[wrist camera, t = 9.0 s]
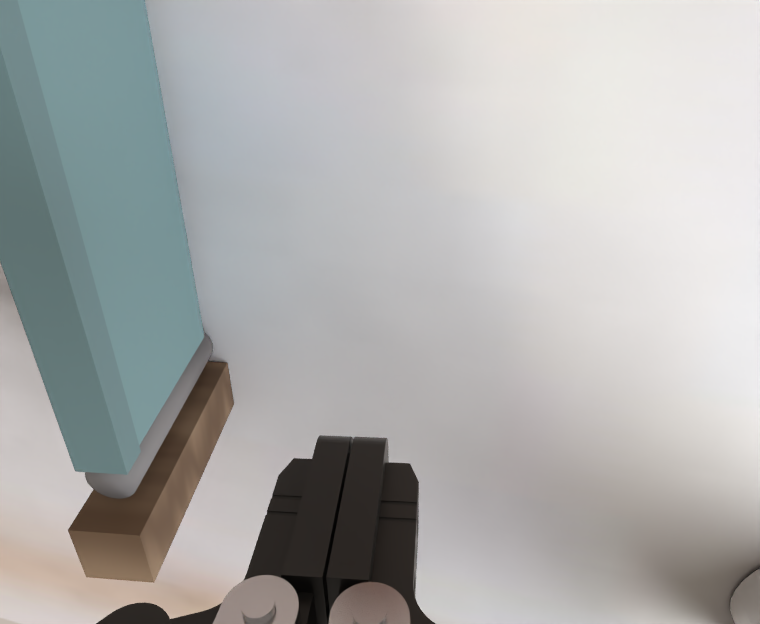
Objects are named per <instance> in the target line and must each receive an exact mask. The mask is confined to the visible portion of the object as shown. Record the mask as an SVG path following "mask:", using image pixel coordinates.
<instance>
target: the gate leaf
mask: <svg viewBox="0 0 760 624" xmlns="http://www.w3.org/2000/svg"><path fill="white" fill-rule="evenodd" d="M0 262H1V265H2V267H3V270H4V273H5V276H6V279H7V282H8V284H9V287H10V290H11V293H12V296H13V298H14V301H15V304H16V307H17V310H18V312H19V315H20V318H21V321H22V324H23V326H24V329H25V332H26V335H27V338H28V340H29V343H30V346H31V349H32V352H33V354H34V357H35V360H36V363H37V366H38V368H39V371H40V374H41V377H42V380H43V382H44V385H45V388H46V391H47V394H48V396H49V399H50V402H51V405H52V408H53V410H54V413H55V416H56V419H57V422H58V424H59V427H60V430H61V433H62V436H63V438H64V441H65V444H66V447H67V450H68V452H69V455H70V458H71V461H72V464H73V466H74V469H75V471H78V472H85V477H86V480H87V482H88V484H89V485H90V486H91V487H92V488H93V489H94V490H95V491H97V492H98V493H100V494H102V495H104V496H107V497H110V498H116V499H123V498H127V497H130V496H132V495H133V494H134V493H135V491H136V490H137V488H138V486H139V484H140V483H141V481H142V479H143V477H144V475H145V474H146V472H147V470H148V468H149V466H150V465H151V463H152V461H153V459H154V457H155V456H156V454H157V452H158V450H159V448H160V446H161V445H162V443H163V441H164V439H165V437H166V436H167V434H168V432H169V430H170V428H171V427H172V425H173V423H174V421H175V419H176V418H177V416H178V414H179V412H180V410H181V409H182V407H183V405H184V403H185V401H186V400H187V398H188V396H189V394H190V392H191V391H192V389H193V387H194V385H195V383H196V382H197V380H198V378H199V376H200V374H201V373H202V371H203V369H204V367H205V365H206V364H207V362H208V360H209V358H210V356H211V355H212V352H213V343H212V341H211V339H210V338H209V337H208V336H207V335H206V334H205V333H204V332H203V326H202V320H201V315H200V309H199V304H198V298H197V292H196V287H195V281H194V275H193V270H192V264H191V259H190V253H189V247H188V242H187V236H186V230H185V225H184V219H183V213H182V208H181V202H180V197H179V191H178V185H177V180H176V174H175V168H174V163H173V157H172V152H171V146H170V140H169V135H168V129H167V123H166V118H165V112H164V107H163V101H162V95H161V90H160V84H159V78H158V73H157V67H156V62H155V56H154V50H153V45H152V39H151V33H150V28H149V22H148V17H147V11H146V5H145V0H0Z"/></svg>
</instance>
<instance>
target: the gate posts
mask: <svg viewBox="0 0 760 624" xmlns="http://www.w3.org/2000/svg"><path fill="white" fill-rule="evenodd" d="M233 405H234V401H233V395H232V389H231V383H230V376H229V370H228V364H227V363H223V362H207V364H206V365H205V367H204V369H203V371H202V373H201V374H200V376H199V378H198V380H197V382H196V383H195V385H194V387H193V389H192V391H191V392H190V394H189V396H188V398H187V400H186V401H185V403H184V405H183V407H182V409H181V410H180V412H179V414H178V416H177V418H176V419H175V421H174V423H173V425H172V427H171V428H170V430H169V432H168V434H167V436H166V437H165V439H164V441H163V443H162V445H161V446H160V448H159V450H158V452H157V454H156V456H155V457H154V459H153V461H152V463H151V465H150V466H149V468H148V470H147V472H146V474H145V475H144V477H143V479H142V481H141V483H140V484H139V486H138V488H137V490H136V491H135V493H134V494H133V495H132V496H130V497H127V498H123V499H116V498H110V497H107V496H104V495H102V494H100V493H98V492H97V491H95V490H93V491H92V493H91V495H90V496H89V498H88V499H87V501H86V503H85V504H84V506H83V507H82V509H81V510H80V512H79V514H78V515H77V517H76V518H75V520H74V521H73V523H72V525H71V526H70V528H69V529H68V532H69V534H70V537H71V539H72V542H73V544H74V547H75V549H76V552H77V555H78V557H79V560H80V562H81V565H82V567H83V570H84V572H85V575H86V577H92V578H104V579H117V580H129V581H142V582H154V581H155V579H156V577H157V575H158V573H159V570H160V568H161V566H162V564H163V561H164V559H165V557H166V555H167V552H168V550H169V548H170V546H171V543H172V541H173V539H174V537H175V535H176V532H177V530H178V528H179V526H180V523H181V521H182V519H183V517H184V514H185V512H186V510H187V508H188V506H189V503H190V501H191V499H192V497H193V494H194V492H195V490H196V488H197V485H198V483H199V481H200V479H201V476H202V474H203V472H204V470H205V468H206V465H207V463H208V461H209V459H210V456H211V454H212V452H213V450H214V447H215V445H216V443H217V441H218V438H219V436H220V434H221V432H222V430H223V427H224V425H225V423H226V421H227V418H228V416H229V414H230V412H231V409H232V407H233Z"/></svg>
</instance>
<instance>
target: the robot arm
mask: <svg viewBox="0 0 760 624" xmlns="http://www.w3.org/2000/svg"><path fill="white" fill-rule="evenodd" d="M418 500H419V482H418V480H417V477H416V475H415V473H414V471H413V469H412V467H411V465H410V464H408V463H388V439H387V438H369V437H354V439H353V437H342V436H319V437H318V440H317V443H316V447H315V450H314V454H313V458H312V459H296V458H294V459H293V460H292V461H291V462H290V463H289V464H288V466H287V467H286V468H285V469H284V470H283V471H282V472H281V473H280V474H279V476H278V479H277V482H276V486H275V489H274V492H273V496H272V499H271V501H270V504H269V507H268V510H267V515H266V516H265V519H264V522H263V525H262V528H261V531H260V534H259V537H258V540H257V543H256V547H255V550H254V553H253V556H252V559H251V562H250V565H249V568H248V571H247V574H246V576H245V579H244V581H242V582H241V583H239V584H238V585H236V586H235V587H234V588H233V589H232V590H231V591H230V592H229V593H228V594H227V595H226V597H225V598H224V600H223V602H222V603H221V604H219V605H218V606H216V607H213V608H211V609H209V610H206V611H202V612H198V613H194V614H190V615H186V616H182V617H178V618H173V619H169V616H168V615H167V613H166V612H165V611H164V610H163V609H162V608H160V607H159V606H157V605H154V604H151V603H135V604H130V605H127V606H124V607H122V608H120V609H118V610H116V611H114V612H112V613H111V614H109V615H108V616H106V617H105V618H104V619H102V620H101V621H99V622H98V623H97V624H435V623H434V622H432V621H431V620H430V619H429V618H428V617H427V616H425V614H424V613H423V612H422V611H421V609H420V607H419V606H418V604H417V602H416V599H415V588H416V568H417V547H418ZM730 611H731V614H732V618H733V620H734V622H735V624H760V569H758V570H756V571H754V572H753V573H752V574H751V575H749V576H748V577H747V578H745V579H744V580H743V581H742V582H741V584H740V585H739V586H738V587H737V588H736V589H735V591H734V594H733V596H732V598H731V602H730Z"/></svg>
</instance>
